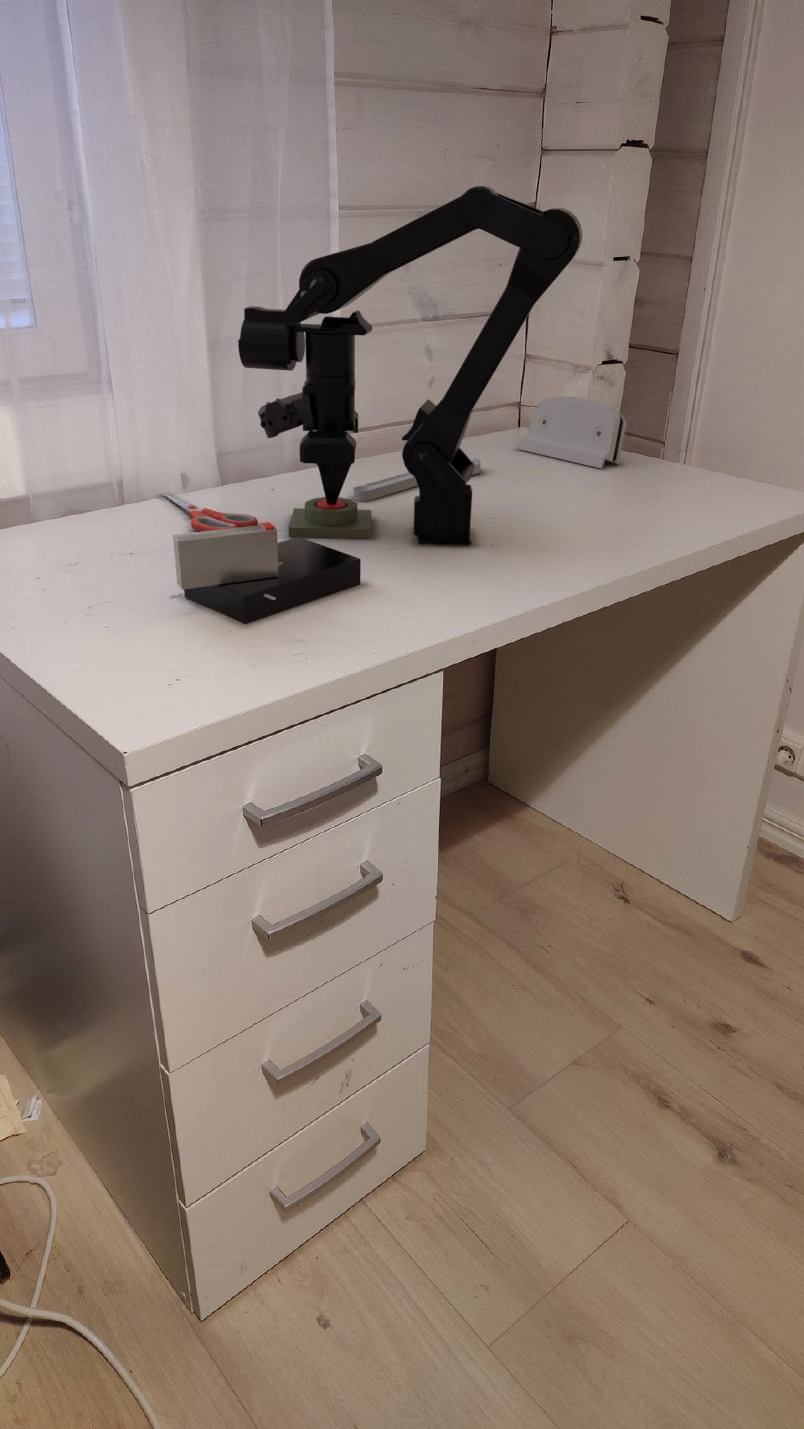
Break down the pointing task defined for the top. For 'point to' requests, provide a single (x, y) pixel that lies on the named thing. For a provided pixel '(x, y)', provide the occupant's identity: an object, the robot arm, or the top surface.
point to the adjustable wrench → (392, 485)
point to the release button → (331, 505)
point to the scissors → (213, 518)
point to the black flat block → (283, 583)
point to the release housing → (330, 521)
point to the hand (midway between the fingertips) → (331, 503)
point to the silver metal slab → (226, 556)
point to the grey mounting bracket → (576, 431)
